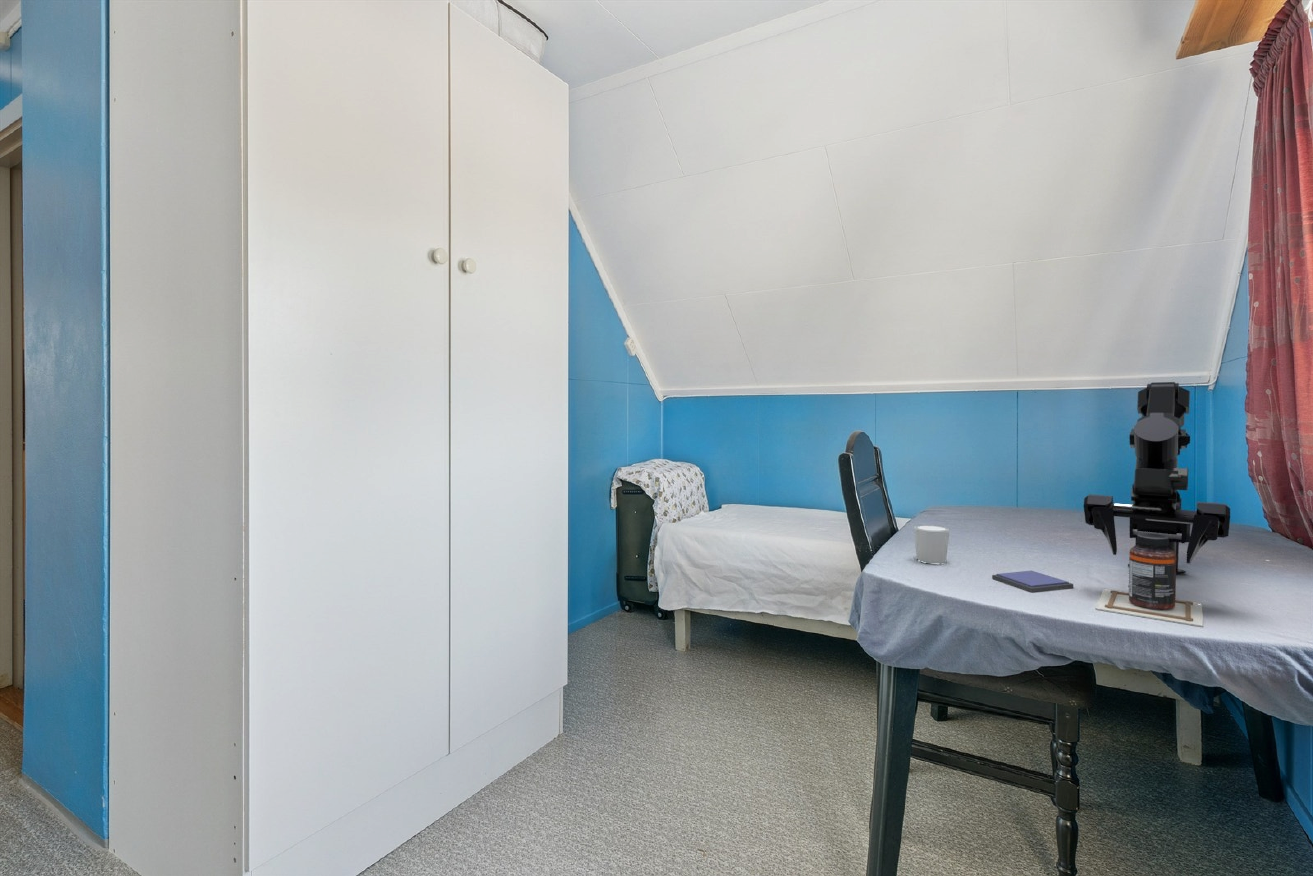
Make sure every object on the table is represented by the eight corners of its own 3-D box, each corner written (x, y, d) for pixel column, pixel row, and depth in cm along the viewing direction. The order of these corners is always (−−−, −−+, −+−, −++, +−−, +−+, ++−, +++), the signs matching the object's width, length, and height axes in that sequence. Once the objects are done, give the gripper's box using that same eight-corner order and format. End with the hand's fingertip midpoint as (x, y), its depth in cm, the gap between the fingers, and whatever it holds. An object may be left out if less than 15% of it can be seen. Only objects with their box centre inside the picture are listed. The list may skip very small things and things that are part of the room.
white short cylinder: (907, 557, 136) (907, 525, 135) (938, 556, 136) (938, 524, 136) (923, 565, 129) (924, 531, 128) (956, 564, 129) (956, 530, 129)
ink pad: (1031, 574, 121) (1031, 569, 121) (1073, 588, 112) (1073, 582, 112) (992, 578, 119) (992, 573, 119) (1031, 592, 110) (1031, 586, 110)
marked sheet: (1103, 590, 111) (1103, 587, 111) (1201, 604, 103) (1202, 601, 103) (1095, 609, 101) (1095, 606, 101) (1203, 627, 93) (1203, 623, 93)
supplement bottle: (1149, 598, 106) (1151, 530, 105) (1185, 609, 100) (1187, 538, 99) (1118, 600, 104) (1120, 532, 104) (1153, 612, 99) (1155, 540, 98)
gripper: (1086, 447, 110) (1075, 521, 102) (1232, 452, 98) (1233, 535, 90) (1090, 488, 116) (1081, 559, 108) (1227, 496, 104) (1228, 578, 96)
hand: (1150, 557), depth 100 cm, fingers open, 9 cm apart
